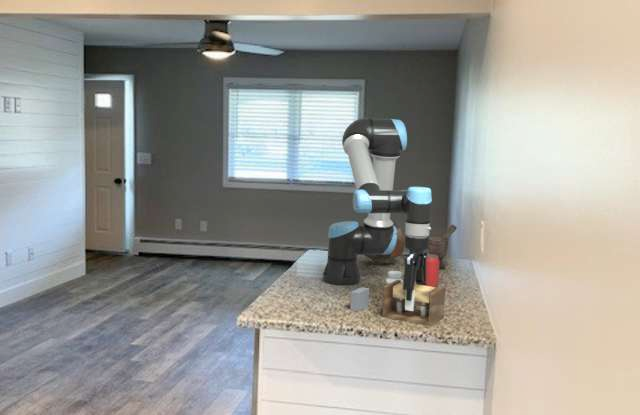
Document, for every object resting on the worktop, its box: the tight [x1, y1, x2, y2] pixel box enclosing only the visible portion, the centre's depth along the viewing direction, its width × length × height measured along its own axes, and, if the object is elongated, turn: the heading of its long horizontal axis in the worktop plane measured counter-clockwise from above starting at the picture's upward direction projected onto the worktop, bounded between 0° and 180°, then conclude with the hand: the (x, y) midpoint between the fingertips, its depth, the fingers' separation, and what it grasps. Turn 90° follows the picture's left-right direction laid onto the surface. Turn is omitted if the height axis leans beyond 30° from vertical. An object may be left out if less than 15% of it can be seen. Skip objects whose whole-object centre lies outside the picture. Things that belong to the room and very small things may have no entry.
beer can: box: [423, 253, 440, 287], centre depth 235 cm, size 7×7×12 cm
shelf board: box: [393, 281, 438, 304], centre depth 191 cm, size 12×7×4 cm, turn 60°
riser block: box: [349, 286, 370, 312], centre depth 201 cm, size 3×8×6 cm, turn 151°
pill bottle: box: [384, 270, 404, 301], centre depth 206 cm, size 6×6×11 cm
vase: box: [364, 217, 405, 265], centre depth 272 cm, size 23×19×30 cm
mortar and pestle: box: [428, 224, 458, 269], centre depth 269 cm, size 12×9×20 cm
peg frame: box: [382, 280, 446, 327], centre depth 191 cm, size 16×11×10 cm
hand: (413, 307), depth 192 cm, fingers closed on shelf board, 7 cm apart
